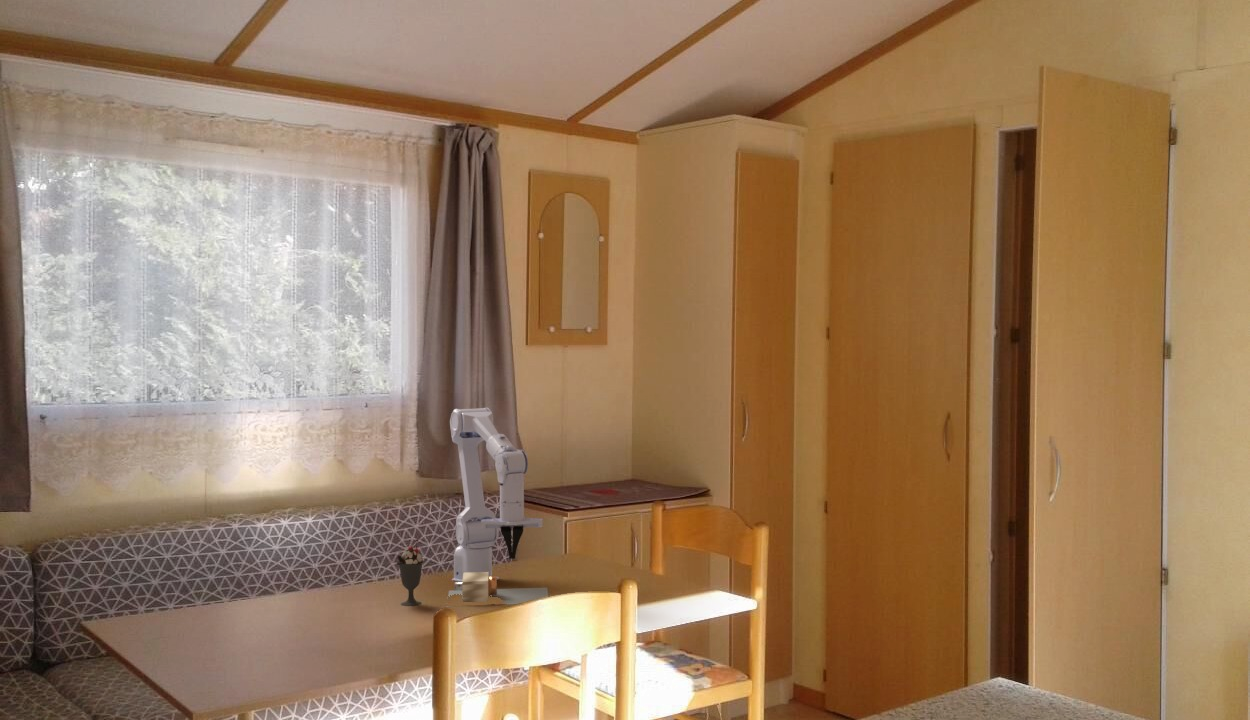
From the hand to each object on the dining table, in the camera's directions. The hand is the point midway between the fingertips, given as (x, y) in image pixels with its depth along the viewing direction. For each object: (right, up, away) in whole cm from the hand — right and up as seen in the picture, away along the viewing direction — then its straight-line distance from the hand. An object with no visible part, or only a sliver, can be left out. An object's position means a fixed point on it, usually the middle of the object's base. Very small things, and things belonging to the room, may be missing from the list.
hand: (512, 557), depth 270 cm
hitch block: (-9, -9, -1) cm, 13 cm away
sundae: (-23, -10, -6) cm, 26 cm away
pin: (-9, -9, -1) cm, 12 cm away
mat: (-3, -10, 0) cm, 10 cm away
